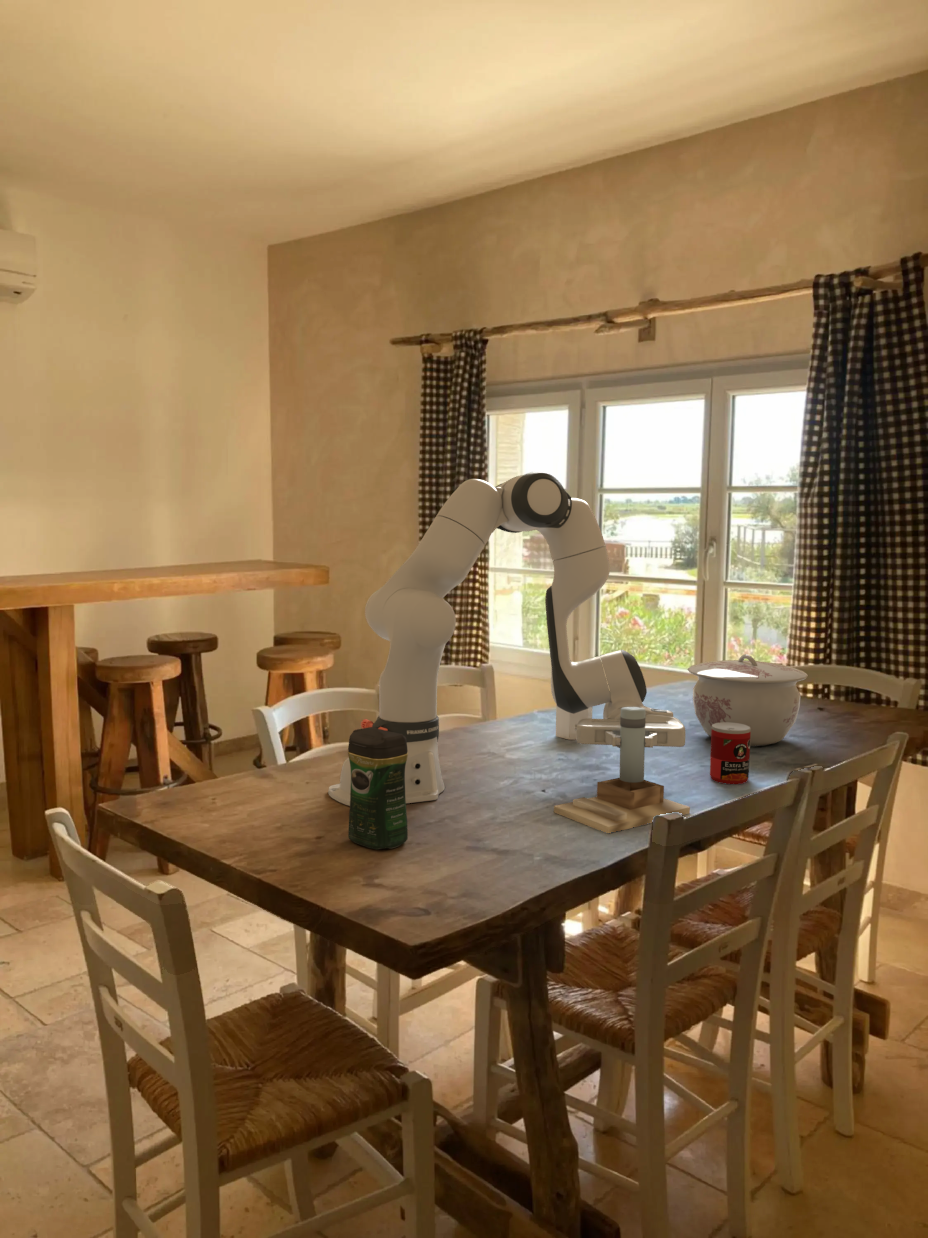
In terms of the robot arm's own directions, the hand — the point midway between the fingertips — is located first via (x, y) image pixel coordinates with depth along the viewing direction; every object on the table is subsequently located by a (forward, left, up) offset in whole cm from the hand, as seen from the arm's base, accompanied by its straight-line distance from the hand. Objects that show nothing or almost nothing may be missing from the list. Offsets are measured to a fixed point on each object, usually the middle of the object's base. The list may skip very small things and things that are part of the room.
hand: (632, 742), depth 175 cm
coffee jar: (-48, +10, -12) cm, 50 cm away
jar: (+29, +49, -12) cm, 58 cm away
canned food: (+30, +3, -12) cm, 33 cm away
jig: (-4, -1, -12) cm, 13 cm away
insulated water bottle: (+1, +1, -7) cm, 7 cm away
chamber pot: (+61, +24, -12) cm, 67 cm away
